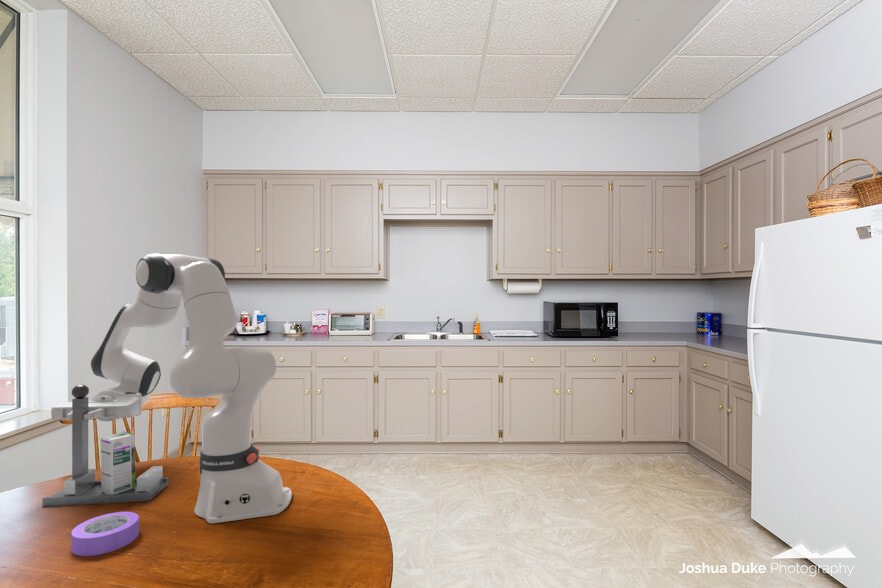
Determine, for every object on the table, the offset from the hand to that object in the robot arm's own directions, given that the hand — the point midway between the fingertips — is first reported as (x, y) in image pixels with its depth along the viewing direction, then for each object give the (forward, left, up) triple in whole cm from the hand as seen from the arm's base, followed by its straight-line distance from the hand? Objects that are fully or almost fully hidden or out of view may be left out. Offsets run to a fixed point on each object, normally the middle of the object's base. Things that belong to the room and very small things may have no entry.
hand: (78, 417), depth 119 cm
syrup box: (-9, -1, -20) cm, 22 cm away
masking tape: (-20, +23, -21) cm, 37 cm away
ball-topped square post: (0, -1, -20) cm, 20 cm away
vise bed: (-7, -1, -21) cm, 22 cm away
